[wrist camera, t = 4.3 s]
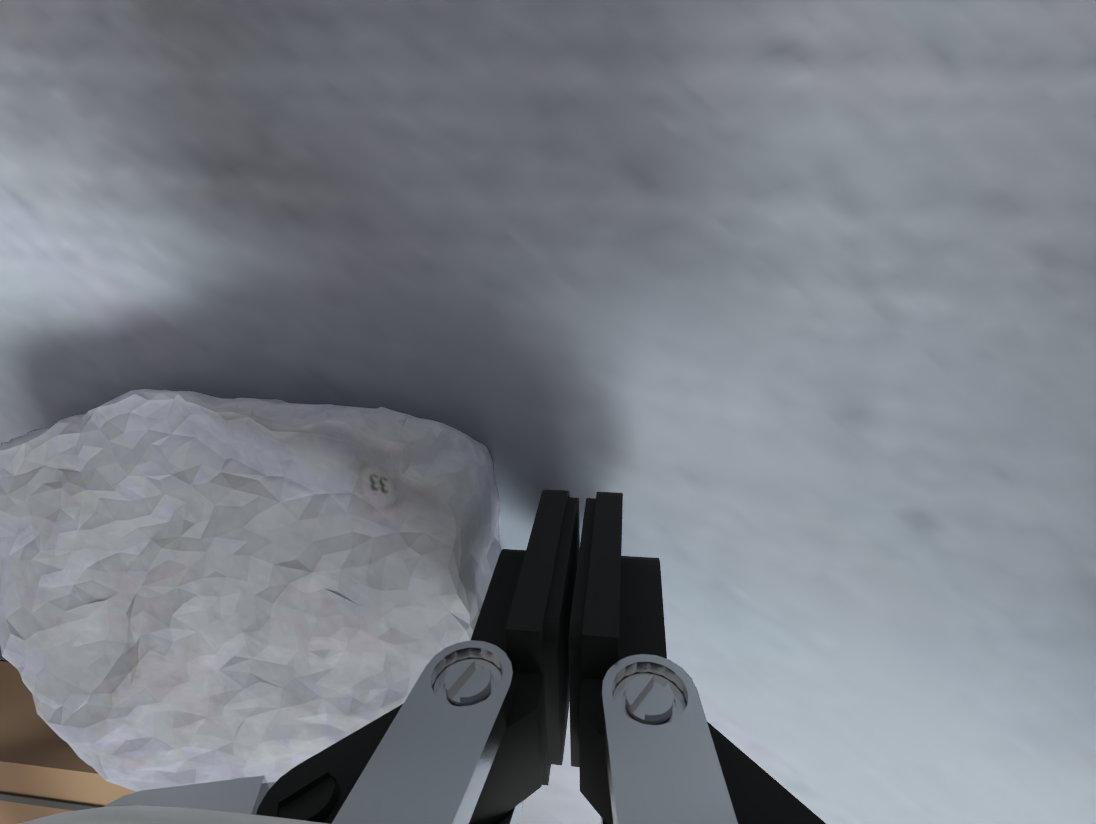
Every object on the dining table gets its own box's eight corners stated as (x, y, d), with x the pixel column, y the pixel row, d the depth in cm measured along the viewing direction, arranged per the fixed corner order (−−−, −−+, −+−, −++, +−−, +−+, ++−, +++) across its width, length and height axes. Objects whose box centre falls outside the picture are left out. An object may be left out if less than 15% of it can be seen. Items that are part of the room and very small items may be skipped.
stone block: (101, 389, 16) (191, 701, 18) (-113, 427, 11) (38, 843, 13) (506, 330, 14) (563, 685, 16) (448, 347, 10) (537, 844, 11)
